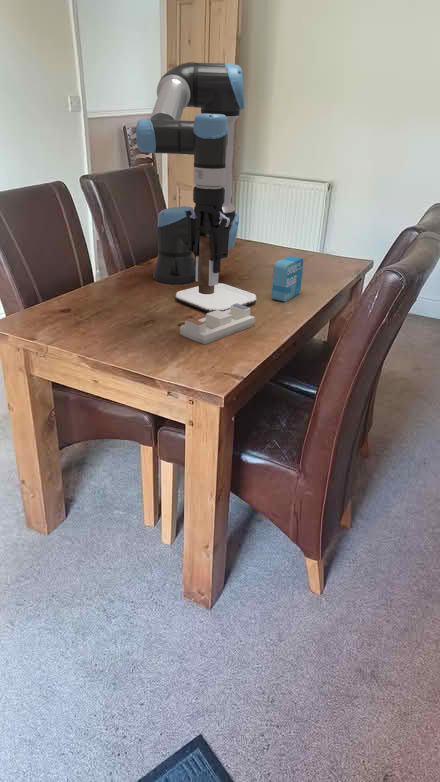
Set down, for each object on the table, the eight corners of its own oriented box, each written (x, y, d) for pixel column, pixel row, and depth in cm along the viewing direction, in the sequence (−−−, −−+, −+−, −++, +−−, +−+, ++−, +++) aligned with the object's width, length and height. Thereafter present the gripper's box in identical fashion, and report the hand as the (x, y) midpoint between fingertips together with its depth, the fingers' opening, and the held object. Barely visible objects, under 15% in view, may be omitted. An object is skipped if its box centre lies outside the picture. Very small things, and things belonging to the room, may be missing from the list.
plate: (216, 287, 189) (216, 280, 188) (262, 303, 176) (263, 296, 175) (169, 300, 176) (169, 293, 175) (215, 318, 163) (215, 311, 162)
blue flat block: (283, 303, 176) (286, 265, 171) (270, 300, 178) (273, 262, 173) (300, 293, 185) (304, 257, 180) (288, 290, 187) (291, 254, 182)
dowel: (195, 291, 145) (196, 236, 139) (206, 288, 148) (207, 234, 142) (206, 295, 143) (207, 239, 137) (217, 292, 146) (219, 237, 139)
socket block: (180, 334, 151) (180, 317, 149) (230, 316, 164) (231, 301, 162) (204, 344, 145) (204, 327, 143) (254, 325, 159) (255, 309, 156)
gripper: (172, 183, 136) (173, 278, 147) (224, 192, 126) (221, 293, 137) (195, 180, 141) (193, 272, 152) (246, 189, 131) (241, 287, 142)
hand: (206, 282), depth 144 cm, fingers closed on dowel, 4 cm apart
